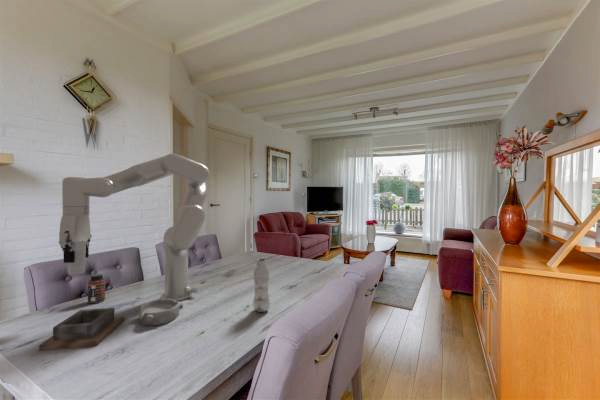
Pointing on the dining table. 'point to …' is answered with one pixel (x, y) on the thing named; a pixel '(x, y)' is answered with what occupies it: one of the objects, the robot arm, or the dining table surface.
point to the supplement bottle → (96, 288)
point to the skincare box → (78, 259)
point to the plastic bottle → (261, 286)
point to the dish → (159, 311)
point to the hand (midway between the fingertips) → (76, 259)
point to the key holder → (83, 329)
